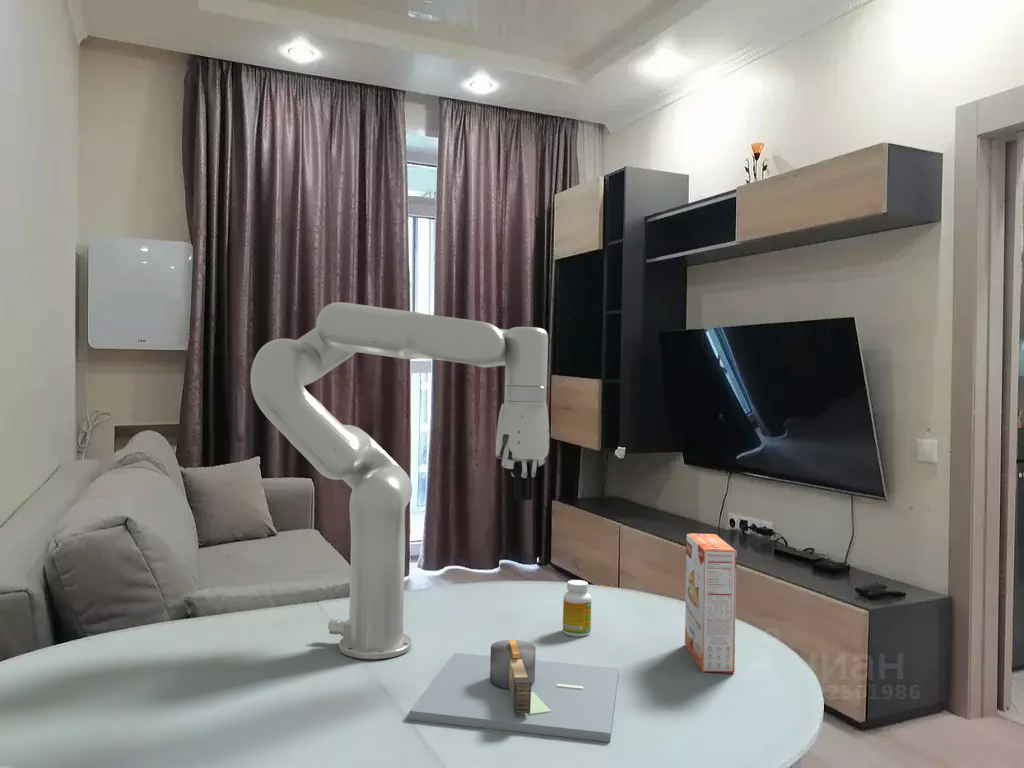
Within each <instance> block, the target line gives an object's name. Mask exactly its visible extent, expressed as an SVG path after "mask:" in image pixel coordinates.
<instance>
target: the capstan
mask: <svg viewBox="0 0 1024 768" xmlns="http://www.w3.org/2000/svg"><path fill="white" fill-rule="evenodd" d="M536 650H537V648H536V646H535V645H534V644H532V643H531V642H528V641H524V640H519V639H518V640H516V639H504V640H498V641H495V642H493V643H492V644H491V645H490V655H489V656H490V681H491V683H493V684H494V685H496V686H499V687H503V688H510V691H511V695H512V699H513V709H514V713H530V705H531V685H532V684H533V683H534V682H535V660H536V653H537V652H536Z"/></svg>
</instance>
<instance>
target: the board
mask: <svg viewBox="0 0 1024 768" xmlns="http://www.w3.org/2000/svg"><path fill="white" fill-rule="evenodd" d="M619 673H620V668H619V667H610V666H599V665H590V664H589V665H588V664H578V663H567V662H558V661H549V660H548V661H547V660H537V659H535V682H534V683H533V684H532V685H531V705H530V713H514V709H513V699H512V695H511V691H510V688H503V687H499V686H496V685H494V684H493V683H491V681H490V655H484V654H472V653H463V652H462V653H461V652H453V654H452V655H451V657H449V659H448V660H447V662H446V663H445V664H444V665H443V666H442V668H441V669H440V671H438V673H437V675H436V676H435V678H433V680H432V681H431V682H430V684H429V685H428V686H427V688H426V689H425V690H424V692H423V693H422V694H421V696H419V699H418V700H417V701H416V702H415V703H414V705H413V706H412V707H411V709H410V710H409V720H412V721H420V722H430V723H439V724H447V725H458V726H466V727H473V728H474V727H475V728H482V729H493V730H500V731H501V730H502V731H509V732H516V733H517V732H519V733H527V734H536V735H546V736H552V737H553V736H554V737H561V738H570V739H571V738H573V739H579V740H580V739H581V740H588V741H589V740H590V741H598V742H606V743H611V739H612V731H613V723H614V715H615V707H616V701H615V700H616V699H617V693H616V692H617V691H618V683H619V676H620V674H619Z"/></svg>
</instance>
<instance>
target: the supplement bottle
mask: <svg viewBox="0 0 1024 768" xmlns="http://www.w3.org/2000/svg"><path fill="white" fill-rule="evenodd" d="M566 588H567V590H568V591H567V592H565V593H564V595H563V601H562V602H563V609H562V633H564V634H565V635H566V636H569V637H570V636H571V637H574V638H575V637H578V638H579V637H582V638H583V637H586V636H589V635H591V630H592V629H591V628H592V627H591V626H592V625H591V624H592V595H591V594H590V593H588V591H589V583H588V581H585V580H581V579H571V580H568V581H567V587H566Z"/></svg>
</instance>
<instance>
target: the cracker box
mask: <svg viewBox="0 0 1024 768" xmlns="http://www.w3.org/2000/svg"><path fill="white" fill-rule="evenodd" d="M685 548H686V549H685V551H686V552H685V553H686V554H685V556H686V557H685V558H686V559H685V567H686V568H685V569H686V570H685V617H684V620H685V621H684V622H685V623H684V644H685V646H686V648H687V649H688V651H689V652H690V654H691V656H692V658H693V659H694V661H695V662H696V665H697V666H698V668H699V669H700V672H702V673H725V674H726V673H729V674H730V673H732V674H734V673H735V668H736V667H735V661H736V660H735V658H736V656H735V655H736V607H737V606H736V605H737V604H736V603H737V601H736V599H737V597H736V596H737V562H738V561H737V559H738V558H737V557H738V555H737V550H735V548H734V547H733V546H731V545H730V544H728V543H727V542H726V541H725V540H723V539H722V538H721V537H720V536H718V535H717V533H716V534H715V533H698V532H697V533H694V532H693V533H687V534H686V547H685Z"/></svg>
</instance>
